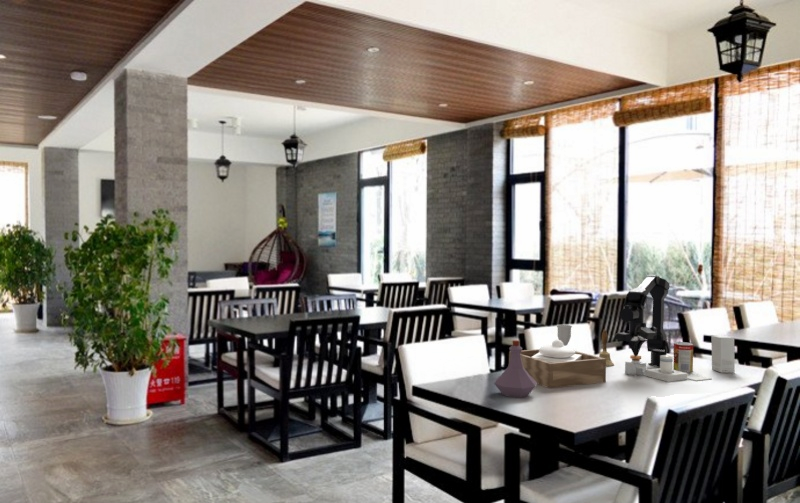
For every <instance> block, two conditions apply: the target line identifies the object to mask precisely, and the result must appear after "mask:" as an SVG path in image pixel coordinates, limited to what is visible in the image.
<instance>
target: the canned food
mask: <svg viewBox="0 0 800 503" xmlns="http://www.w3.org/2000/svg"><path fill="white" fill-rule="evenodd" d="M672 370H676V371H680V372H684V373H692V372H694V371H693V370H694V343H691V342H685V341H684V342H683V341H674V342H673V363H672Z"/></svg>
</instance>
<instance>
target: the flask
mask: <svg viewBox="0 0 800 503" xmlns="http://www.w3.org/2000/svg"><path fill="white" fill-rule="evenodd" d="M508 349H509V352H510V351H511V357H510V361H509V360H508V365H507V367H506V368H505V369H504V371H503V372H502V373H501V374H500V375H499V376H498V377H497V378H496V379H495V381H494V382H493V384H494V386H495V387H496V388H497V390H499V392H500V393H501V394H502V395H503V396H505V397H508V398H518V399H519V398H526V397H528V396H529V395H530V394H531V392H532V391H533V390H534V389H535V388H536V386H537V385H538V384H537V382H536V381H535V380H534V379H533V378H532V377H531V376H530V375H529V374H528V372H527V371H526V370H525V368H524V367H523V363H522V359H521V351H523V347H522V346H520V340H517V339H515V340H512V345H511V346H510V347H509V348H508Z"/></svg>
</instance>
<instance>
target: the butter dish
mask: <svg viewBox="0 0 800 503" xmlns="http://www.w3.org/2000/svg"><path fill="white" fill-rule="evenodd" d="M538 349H539V353H537V354H535V355H534V356H532V357H533V358H536V359H539V360H543V361H546V362H550V363H555V362H566V361H577V360H581V357H582V355H580V354H575V353H576V352H575V351H576V349H574V348H573V347H571V346H568V345H566V346H564V344H563V342H562V341H561V340H559V339H555V340H553V341H552V343H551V344H548V345H547V344H546V345H543V346H541V347H539V348H538Z"/></svg>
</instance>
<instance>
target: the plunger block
mask: <svg viewBox="0 0 800 503" xmlns="http://www.w3.org/2000/svg"><path fill="white" fill-rule="evenodd" d="M624 363H625V364H624V373H625V374H628V375H631V376H635V377H638V376H639V377H640V376H645V370H647V362H642V361H640V363H637V364H635V363H632V360H629V361H628V360H627V361H625V362H624Z"/></svg>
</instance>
